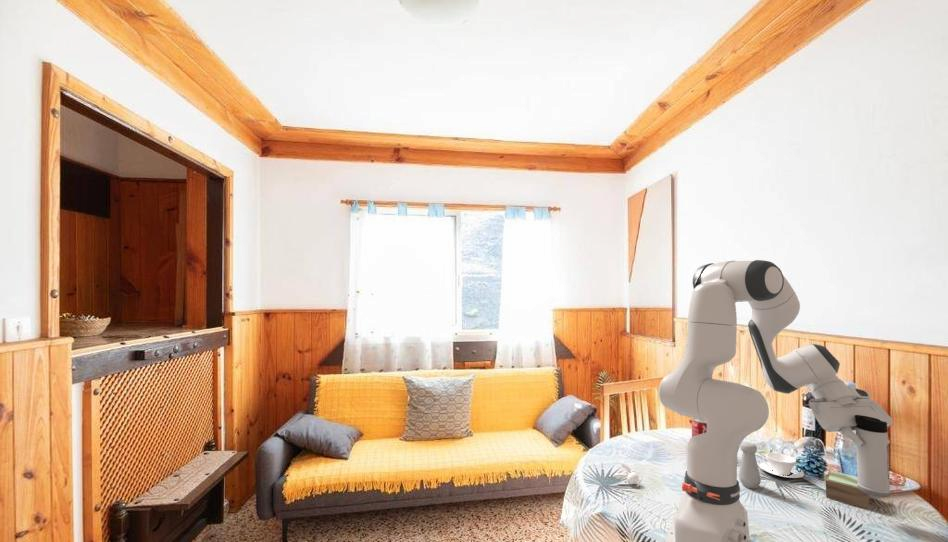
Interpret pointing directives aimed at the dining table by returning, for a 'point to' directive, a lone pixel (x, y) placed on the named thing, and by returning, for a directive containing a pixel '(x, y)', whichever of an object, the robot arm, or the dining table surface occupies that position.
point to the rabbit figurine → (629, 475)
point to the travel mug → (873, 457)
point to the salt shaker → (749, 466)
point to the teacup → (779, 465)
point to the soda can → (698, 427)
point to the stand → (845, 489)
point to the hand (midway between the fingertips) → (874, 444)
